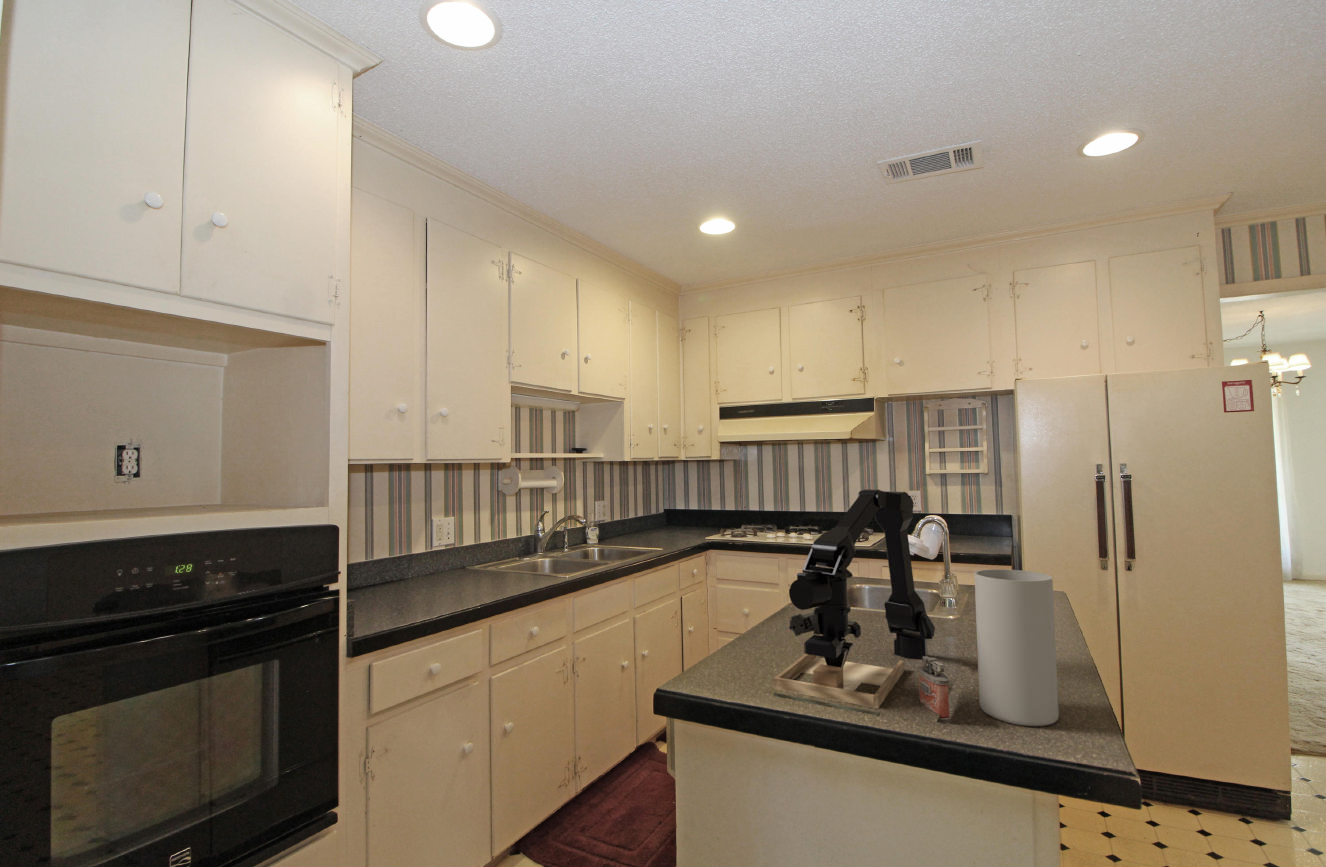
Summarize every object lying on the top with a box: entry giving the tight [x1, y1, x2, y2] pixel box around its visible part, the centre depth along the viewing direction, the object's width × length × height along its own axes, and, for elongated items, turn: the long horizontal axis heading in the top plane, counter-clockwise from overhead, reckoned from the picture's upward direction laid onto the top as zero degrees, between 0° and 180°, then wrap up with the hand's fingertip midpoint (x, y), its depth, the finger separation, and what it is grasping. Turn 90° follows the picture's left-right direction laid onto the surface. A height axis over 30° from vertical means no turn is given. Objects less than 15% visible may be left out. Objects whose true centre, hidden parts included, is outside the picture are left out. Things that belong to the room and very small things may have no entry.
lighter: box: [917, 655, 952, 725], centre depth 113 cm, size 8×3×10 cm, turn 5°
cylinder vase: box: [974, 568, 1060, 727], centre depth 114 cm, size 12×12×25 cm
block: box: [812, 664, 844, 689], centre depth 121 cm, size 4×4×4 cm
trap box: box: [773, 653, 905, 717], centre depth 128 cm, size 20×24×4 cm
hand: (834, 680), depth 124 cm, fingers closed
